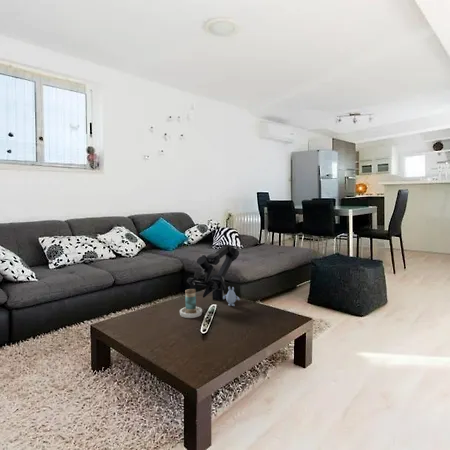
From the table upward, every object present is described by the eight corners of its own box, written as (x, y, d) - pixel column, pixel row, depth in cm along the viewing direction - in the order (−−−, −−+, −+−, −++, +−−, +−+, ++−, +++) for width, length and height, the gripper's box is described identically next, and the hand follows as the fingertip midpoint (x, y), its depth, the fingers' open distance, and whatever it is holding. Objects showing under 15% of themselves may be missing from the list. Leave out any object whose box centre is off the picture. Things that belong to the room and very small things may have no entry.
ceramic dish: (203, 310, 203) (203, 306, 203) (199, 318, 191) (199, 314, 190) (183, 309, 205) (183, 306, 204) (177, 317, 193) (177, 313, 192)
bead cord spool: (196, 310, 201) (195, 288, 200) (197, 314, 195) (196, 291, 194) (184, 311, 200) (184, 289, 199) (185, 315, 194) (185, 292, 192)
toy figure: (241, 304, 211) (240, 285, 210) (238, 308, 206) (238, 288, 204) (224, 303, 215) (224, 284, 213) (221, 306, 209) (221, 287, 207)
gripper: (188, 264, 209) (177, 287, 201) (214, 267, 200) (204, 291, 192) (196, 274, 217) (186, 296, 209) (221, 277, 207) (212, 301, 199)
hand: (196, 296), depth 202 cm, fingers open, 9 cm apart
